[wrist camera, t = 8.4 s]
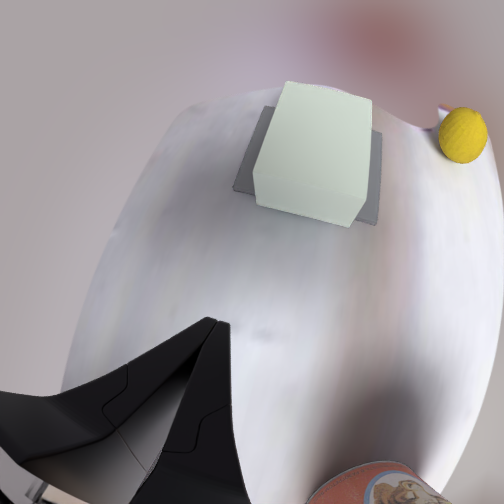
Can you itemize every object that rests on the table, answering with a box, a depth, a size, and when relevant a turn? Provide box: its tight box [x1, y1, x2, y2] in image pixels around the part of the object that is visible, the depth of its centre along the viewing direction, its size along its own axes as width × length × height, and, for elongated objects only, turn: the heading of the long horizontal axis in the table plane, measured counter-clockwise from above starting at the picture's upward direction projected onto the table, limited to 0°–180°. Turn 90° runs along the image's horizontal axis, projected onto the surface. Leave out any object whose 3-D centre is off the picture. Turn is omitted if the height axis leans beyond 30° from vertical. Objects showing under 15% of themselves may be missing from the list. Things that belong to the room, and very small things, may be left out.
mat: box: [233, 106, 382, 225], centre depth 25 cm, size 11×13×1 cm
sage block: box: [253, 81, 372, 228], centre depth 22 cm, size 5×8×11 cm
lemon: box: [439, 107, 487, 164], centre depth 21 cm, size 6×6×8 cm
